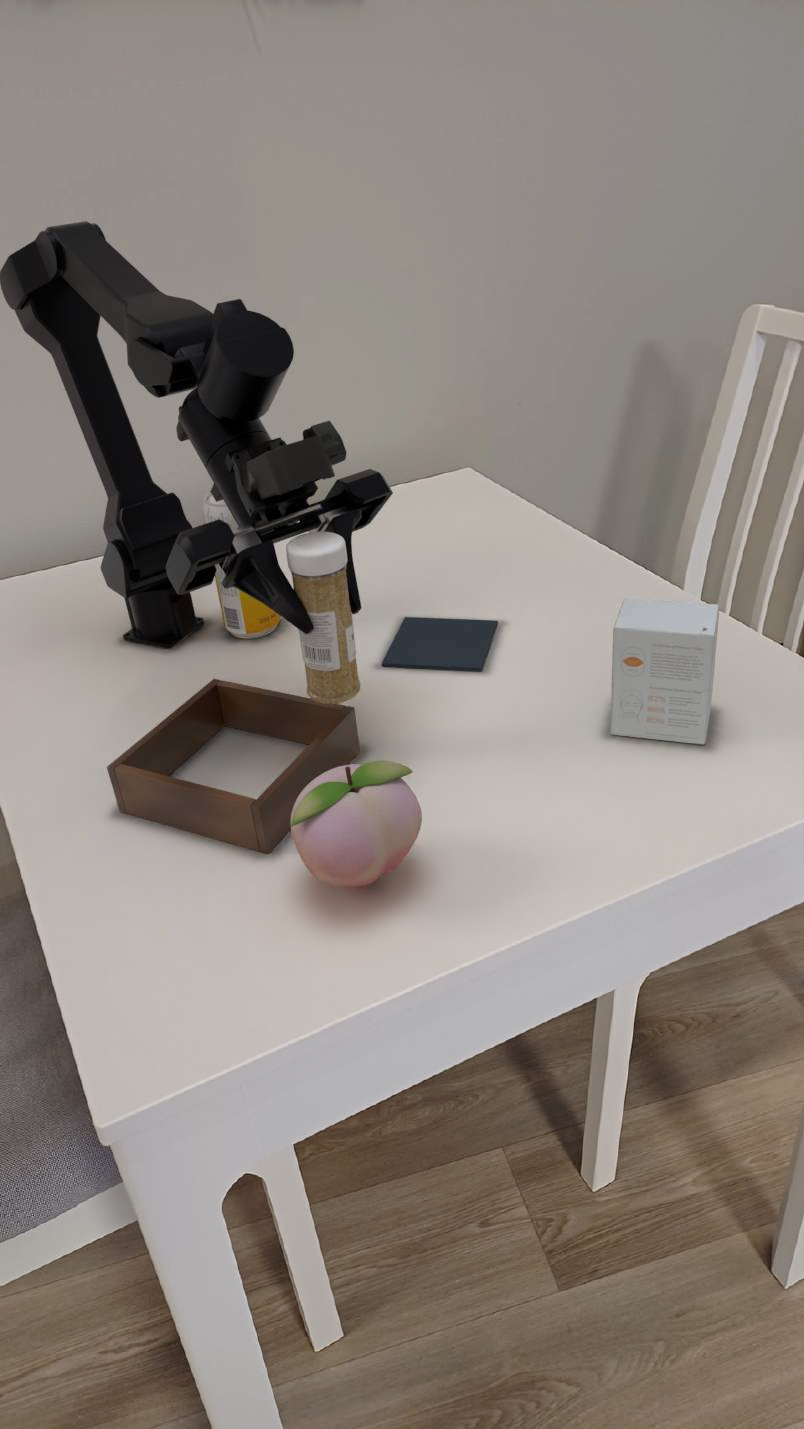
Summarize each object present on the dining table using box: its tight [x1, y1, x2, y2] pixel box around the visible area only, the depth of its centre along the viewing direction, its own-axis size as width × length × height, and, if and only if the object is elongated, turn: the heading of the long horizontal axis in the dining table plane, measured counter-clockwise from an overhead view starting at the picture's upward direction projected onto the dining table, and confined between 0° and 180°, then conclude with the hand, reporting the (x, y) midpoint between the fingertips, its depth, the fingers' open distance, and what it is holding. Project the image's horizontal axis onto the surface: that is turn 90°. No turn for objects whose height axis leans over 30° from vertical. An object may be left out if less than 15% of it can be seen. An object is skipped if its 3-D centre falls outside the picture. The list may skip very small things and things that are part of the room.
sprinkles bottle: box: [285, 532, 361, 704], centre depth 79 cm, size 5×5×14 cm
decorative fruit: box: [290, 760, 423, 888], centre depth 69 cm, size 9×8×10 cm
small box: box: [609, 597, 720, 745], centre depth 83 cm, size 8×6×10 cm
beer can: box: [201, 491, 282, 640], centre depth 103 cm, size 6×6×15 cm
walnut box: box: [106, 678, 361, 855], centre depth 82 cm, size 15×15×4 cm
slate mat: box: [381, 616, 499, 673], centre depth 101 cm, size 10×10×1 cm
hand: (334, 621), depth 78 cm, fingers closed on sprinkles bottle, 4 cm apart
